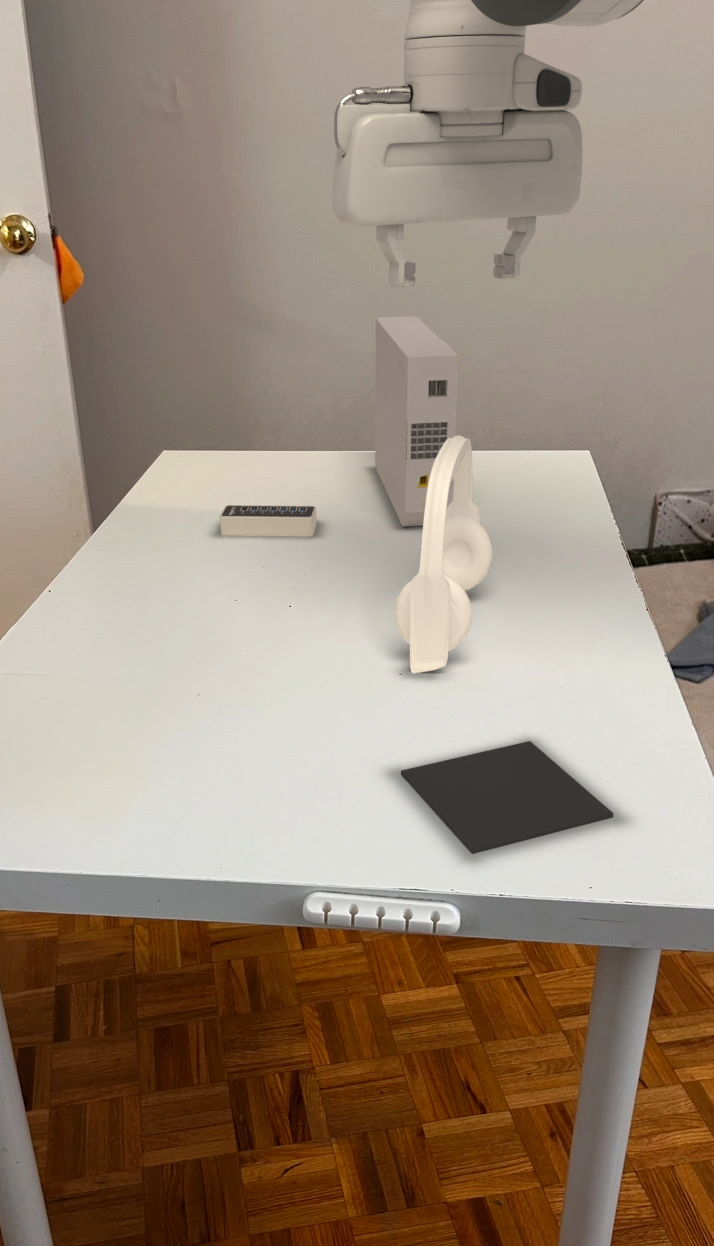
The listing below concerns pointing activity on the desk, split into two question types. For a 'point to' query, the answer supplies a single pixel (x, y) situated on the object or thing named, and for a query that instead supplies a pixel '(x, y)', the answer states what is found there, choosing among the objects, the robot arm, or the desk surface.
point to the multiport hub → (268, 520)
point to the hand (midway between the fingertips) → (454, 282)
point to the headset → (445, 562)
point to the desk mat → (504, 796)
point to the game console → (412, 410)
